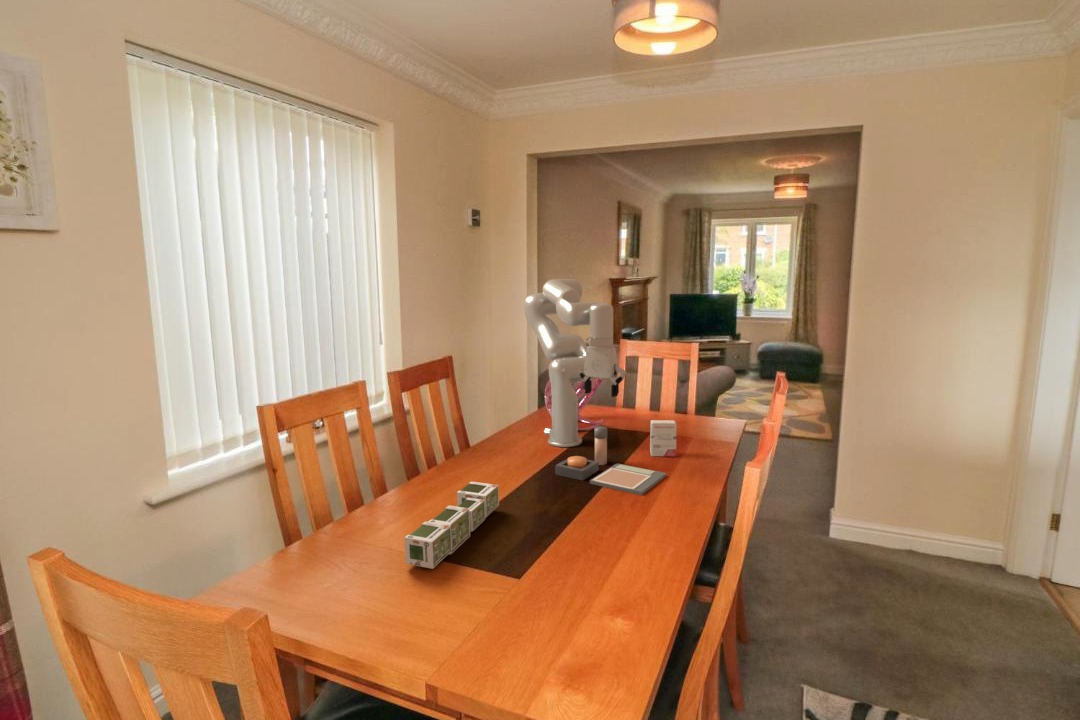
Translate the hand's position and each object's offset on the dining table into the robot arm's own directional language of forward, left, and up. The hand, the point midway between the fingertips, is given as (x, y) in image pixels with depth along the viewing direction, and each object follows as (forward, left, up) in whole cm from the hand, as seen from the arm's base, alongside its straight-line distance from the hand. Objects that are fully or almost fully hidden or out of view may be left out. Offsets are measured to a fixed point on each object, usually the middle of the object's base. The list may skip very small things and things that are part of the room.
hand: (601, 394), depth 193 cm
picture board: (+14, -9, -23) cm, 29 cm away
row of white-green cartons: (-5, -66, -24) cm, 70 cm away
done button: (-2, -12, -21) cm, 24 cm away
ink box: (+14, +19, -24) cm, 33 cm away
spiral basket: (-30, +34, -23) cm, 51 cm away
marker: (0, 0, -23) cm, 23 cm away
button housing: (-2, -12, -23) cm, 26 cm away
